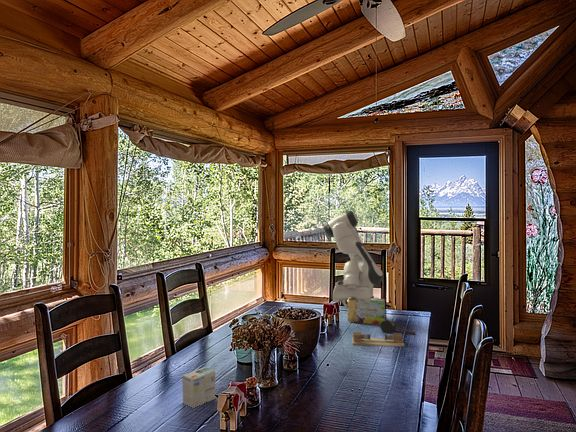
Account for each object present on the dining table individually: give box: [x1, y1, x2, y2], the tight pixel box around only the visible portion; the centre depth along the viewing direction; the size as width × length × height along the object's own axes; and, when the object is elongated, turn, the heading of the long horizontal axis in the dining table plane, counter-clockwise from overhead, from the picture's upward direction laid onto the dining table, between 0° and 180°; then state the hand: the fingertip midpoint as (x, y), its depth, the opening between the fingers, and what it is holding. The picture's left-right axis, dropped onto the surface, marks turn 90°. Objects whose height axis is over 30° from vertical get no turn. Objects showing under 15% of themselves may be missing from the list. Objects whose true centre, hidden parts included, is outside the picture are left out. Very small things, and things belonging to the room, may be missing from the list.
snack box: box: [356, 297, 386, 326], centre depth 265 cm, size 21×6×15 cm, turn 73°
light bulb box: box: [181, 366, 217, 409], centre depth 159 cm, size 11×7×11 cm, turn 141°
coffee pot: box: [380, 319, 416, 336], centre depth 243 cm, size 8×18×8 cm
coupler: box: [346, 297, 356, 323], centre depth 226 cm, size 5×5×12 cm
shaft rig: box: [351, 331, 405, 347], centre depth 226 cm, size 10×26×5 cm, turn 83°
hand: (351, 308), depth 226 cm, fingers closed on coupler, 4 cm apart
